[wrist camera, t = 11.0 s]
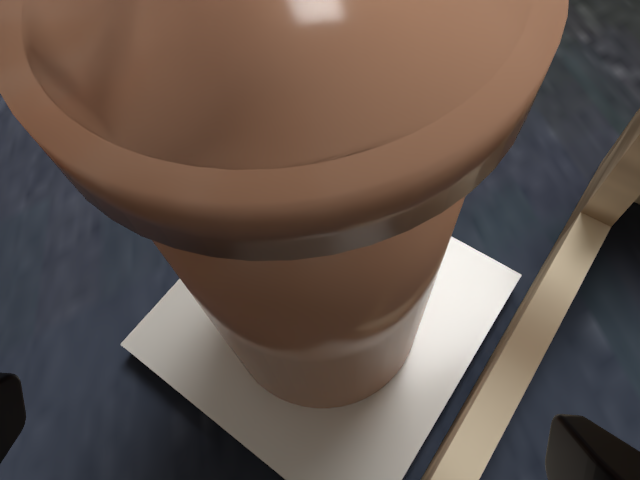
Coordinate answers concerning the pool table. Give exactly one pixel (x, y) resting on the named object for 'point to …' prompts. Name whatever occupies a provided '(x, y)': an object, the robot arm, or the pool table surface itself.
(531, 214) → the pool table surface
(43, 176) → the pool table surface
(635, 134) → the cold frame
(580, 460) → the robot arm
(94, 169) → the terracotta pot
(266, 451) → the paving tile
